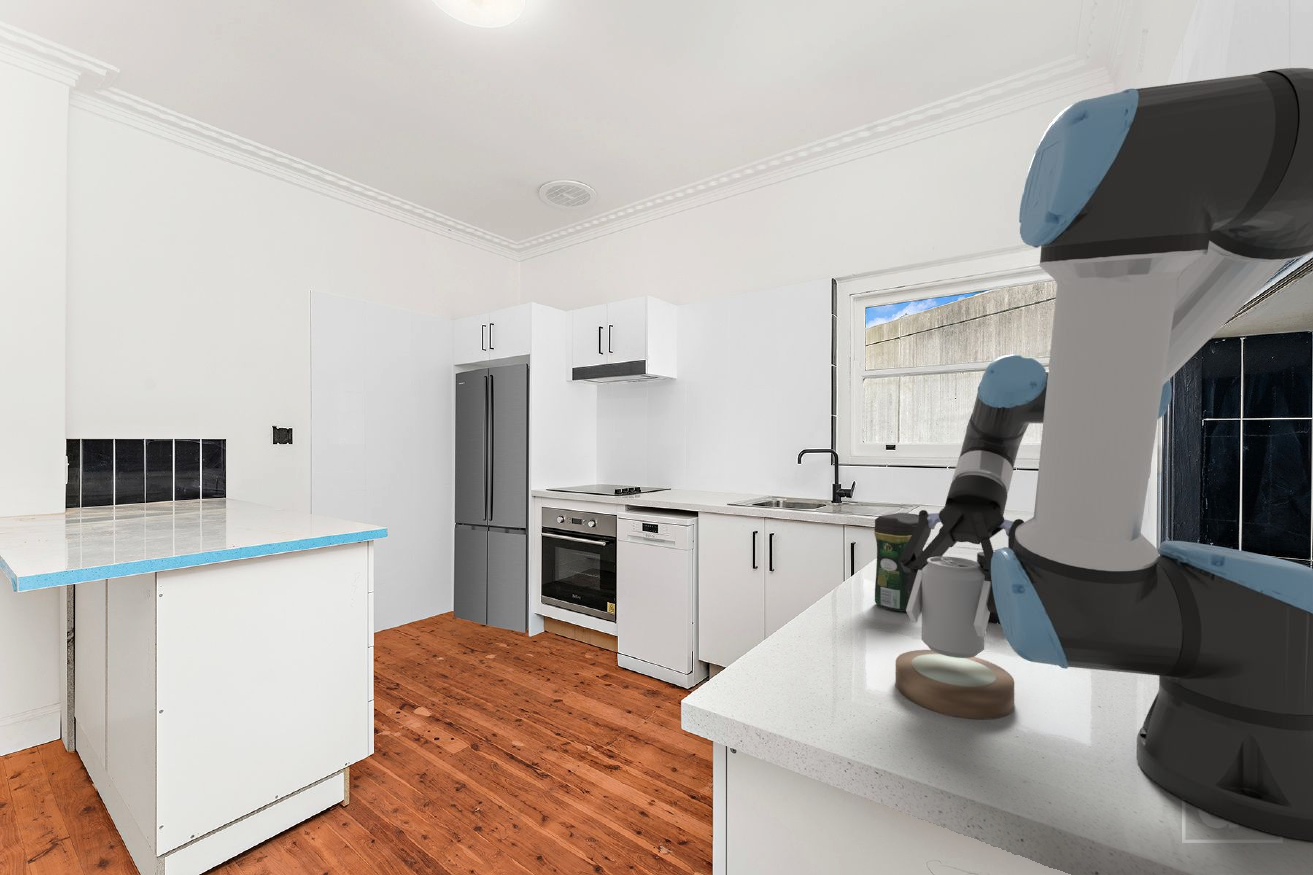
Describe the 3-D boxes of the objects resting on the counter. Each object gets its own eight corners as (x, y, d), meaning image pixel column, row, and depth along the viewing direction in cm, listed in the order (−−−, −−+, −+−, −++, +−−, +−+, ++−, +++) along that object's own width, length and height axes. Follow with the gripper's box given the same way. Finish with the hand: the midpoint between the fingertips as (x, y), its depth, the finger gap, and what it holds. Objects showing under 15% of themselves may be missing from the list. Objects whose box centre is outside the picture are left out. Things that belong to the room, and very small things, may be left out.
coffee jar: (895, 597, 119) (896, 509, 118) (932, 606, 112) (932, 513, 112) (866, 605, 113) (867, 512, 113) (902, 615, 107) (903, 517, 106)
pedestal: (1041, 715, 69) (1041, 689, 69) (934, 722, 68) (934, 696, 68) (966, 667, 83) (966, 646, 83) (876, 672, 82) (876, 650, 82)
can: (950, 663, 71) (951, 568, 71) (909, 641, 78) (909, 555, 78) (998, 656, 73) (998, 564, 73) (953, 636, 80) (954, 552, 80)
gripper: (1064, 511, 79) (1041, 659, 68) (914, 499, 93) (874, 620, 82) (1058, 476, 75) (1032, 627, 64) (902, 468, 89) (858, 591, 78)
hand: (944, 623), depth 73 cm, fingers closed on can, 7 cm apart
